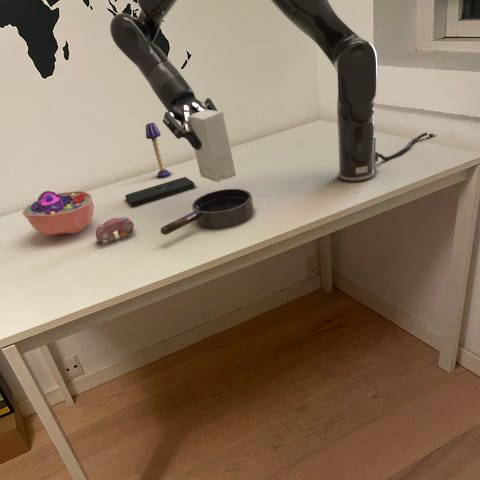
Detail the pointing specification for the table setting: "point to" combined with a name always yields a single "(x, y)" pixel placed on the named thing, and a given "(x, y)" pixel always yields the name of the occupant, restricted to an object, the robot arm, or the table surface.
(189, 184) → the smart home device
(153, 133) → the toy lamp
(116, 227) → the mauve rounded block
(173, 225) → the pan handle
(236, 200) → the pan
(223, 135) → the cosmetic box
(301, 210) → the table surface
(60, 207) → the cell model
